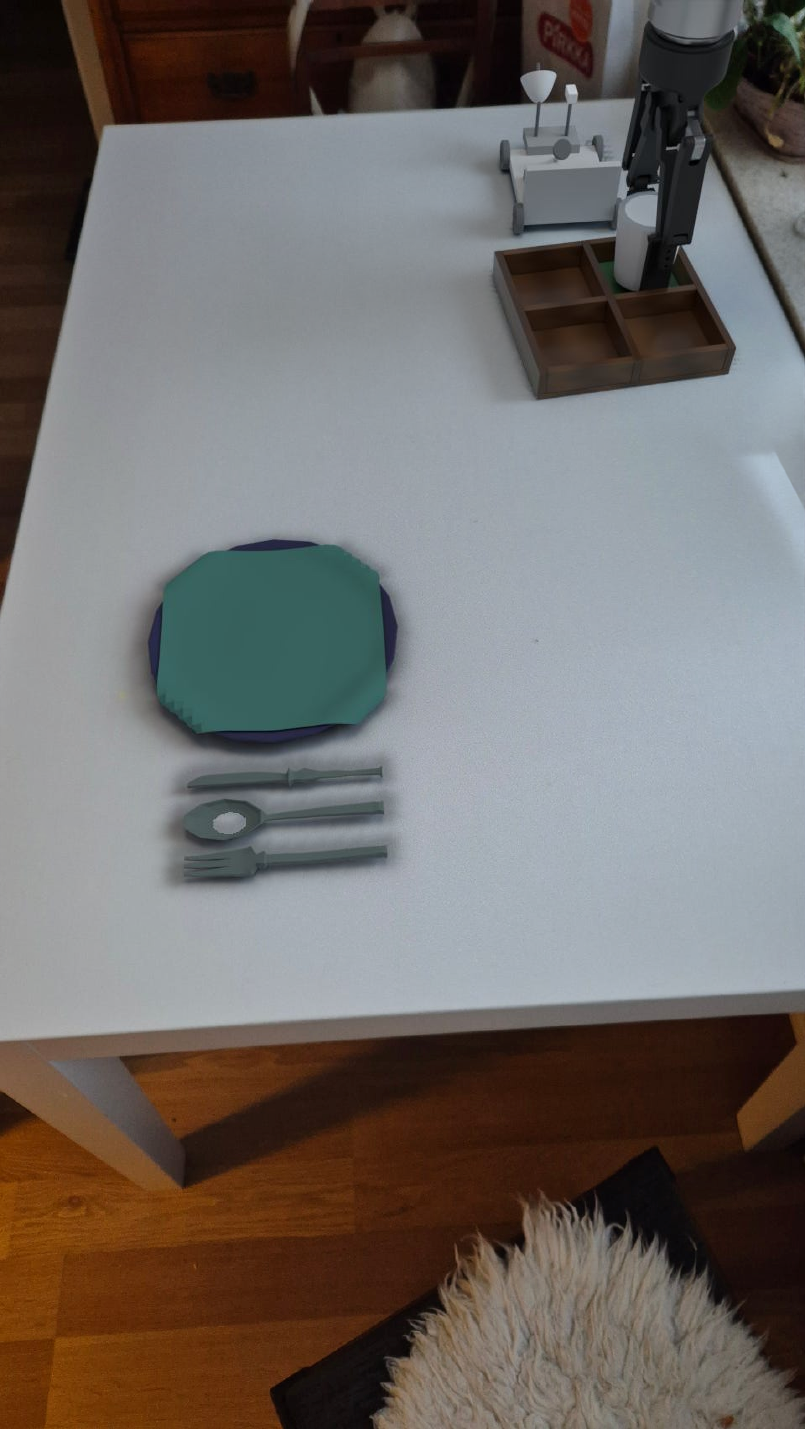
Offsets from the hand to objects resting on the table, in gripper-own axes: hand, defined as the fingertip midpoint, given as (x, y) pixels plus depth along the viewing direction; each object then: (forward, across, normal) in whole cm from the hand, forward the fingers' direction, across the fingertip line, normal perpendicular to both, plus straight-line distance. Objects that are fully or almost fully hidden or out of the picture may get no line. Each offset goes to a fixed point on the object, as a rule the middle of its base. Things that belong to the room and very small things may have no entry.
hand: (641, 272), depth 103 cm
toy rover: (+2, -20, -4) cm, 20 cm away
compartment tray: (+2, +4, -5) cm, 7 cm away
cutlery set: (+2, +44, -43) cm, 61 cm away
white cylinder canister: (+1, 0, 0) cm, 1 cm away
